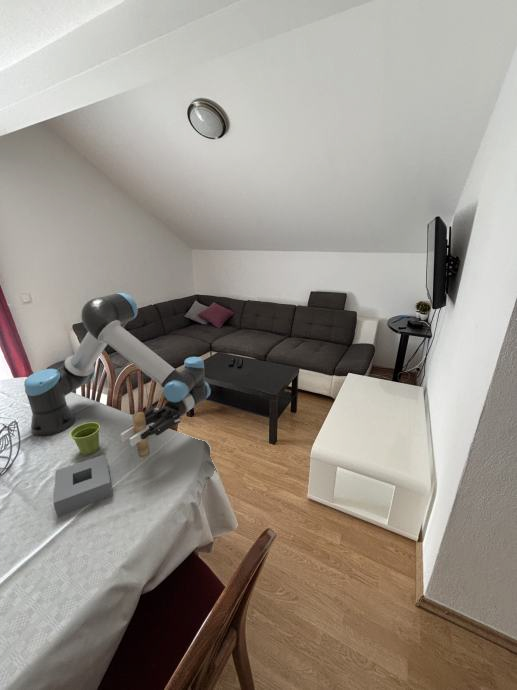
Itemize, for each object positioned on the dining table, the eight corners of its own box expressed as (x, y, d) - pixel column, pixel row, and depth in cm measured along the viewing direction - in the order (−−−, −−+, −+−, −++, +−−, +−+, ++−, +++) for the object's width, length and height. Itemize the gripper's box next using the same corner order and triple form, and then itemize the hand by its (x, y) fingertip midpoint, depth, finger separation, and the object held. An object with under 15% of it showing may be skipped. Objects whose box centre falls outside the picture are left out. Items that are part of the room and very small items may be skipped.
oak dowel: (137, 451, 96) (131, 413, 91) (148, 448, 98) (143, 410, 93) (139, 458, 93) (133, 419, 88) (150, 454, 95) (145, 416, 90)
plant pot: (91, 460, 100) (86, 439, 97) (68, 456, 102) (63, 436, 99) (109, 443, 109) (105, 423, 106) (88, 439, 110) (84, 420, 108)
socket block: (59, 482, 90) (55, 470, 89) (108, 466, 97) (105, 454, 96) (57, 516, 79) (53, 502, 77) (112, 494, 86) (110, 482, 84)
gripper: (197, 420, 105) (146, 459, 85) (164, 407, 112) (110, 441, 93) (195, 402, 102) (143, 438, 83) (162, 391, 110) (107, 422, 90)
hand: (126, 440), depth 88 cm, fingers closed on oak dowel, 3 cm apart
